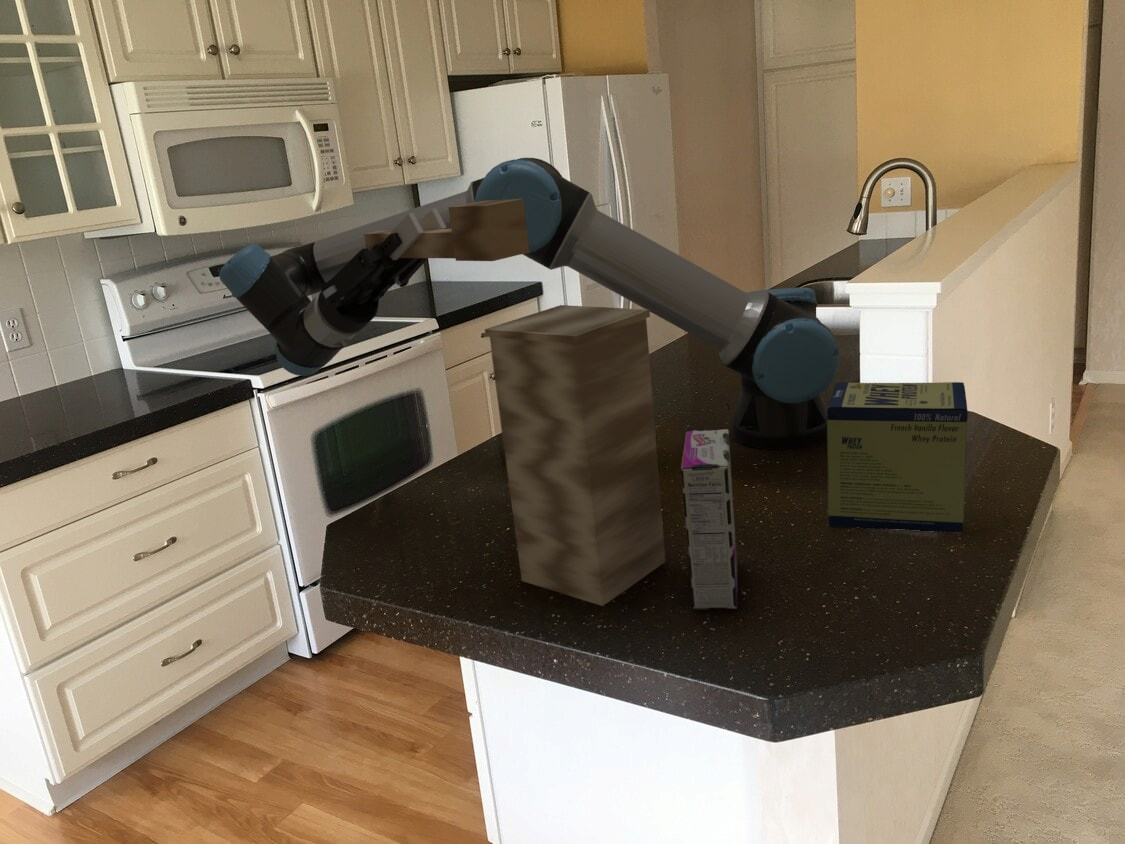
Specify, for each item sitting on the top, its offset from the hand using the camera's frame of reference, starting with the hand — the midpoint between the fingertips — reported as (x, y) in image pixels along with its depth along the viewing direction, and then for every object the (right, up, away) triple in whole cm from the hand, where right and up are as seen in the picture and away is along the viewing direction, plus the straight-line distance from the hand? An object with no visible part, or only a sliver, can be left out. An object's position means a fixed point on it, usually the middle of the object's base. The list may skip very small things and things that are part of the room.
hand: (427, 220), depth 112 cm
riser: (+20, -42, -3) cm, 46 cm away
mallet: (+1, -4, 0) cm, 4 cm away
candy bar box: (+33, -42, -9) cm, 55 cm away
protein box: (+58, -36, +4) cm, 68 cm away
